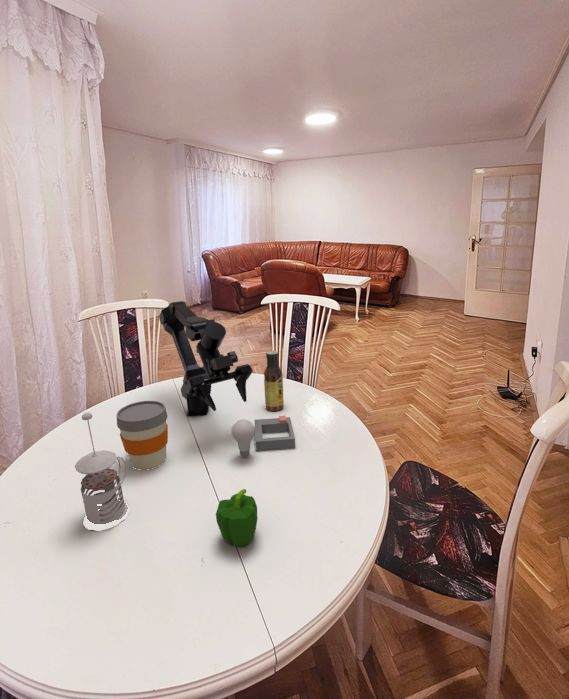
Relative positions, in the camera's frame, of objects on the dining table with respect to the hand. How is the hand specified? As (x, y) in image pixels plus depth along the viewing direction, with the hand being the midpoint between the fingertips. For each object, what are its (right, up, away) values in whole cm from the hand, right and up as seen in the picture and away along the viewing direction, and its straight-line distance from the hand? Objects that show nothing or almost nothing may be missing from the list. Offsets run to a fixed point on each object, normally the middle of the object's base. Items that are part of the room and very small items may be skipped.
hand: (230, 405), depth 110 cm
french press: (-24, -21, -21) cm, 38 cm away
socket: (+12, -11, +8) cm, 18 cm away
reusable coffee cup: (-22, -15, -2) cm, 26 cm away
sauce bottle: (+11, -5, +27) cm, 30 cm away
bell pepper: (+6, -23, -29) cm, 37 cm away
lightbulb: (+4, -14, -1) cm, 15 cm away
